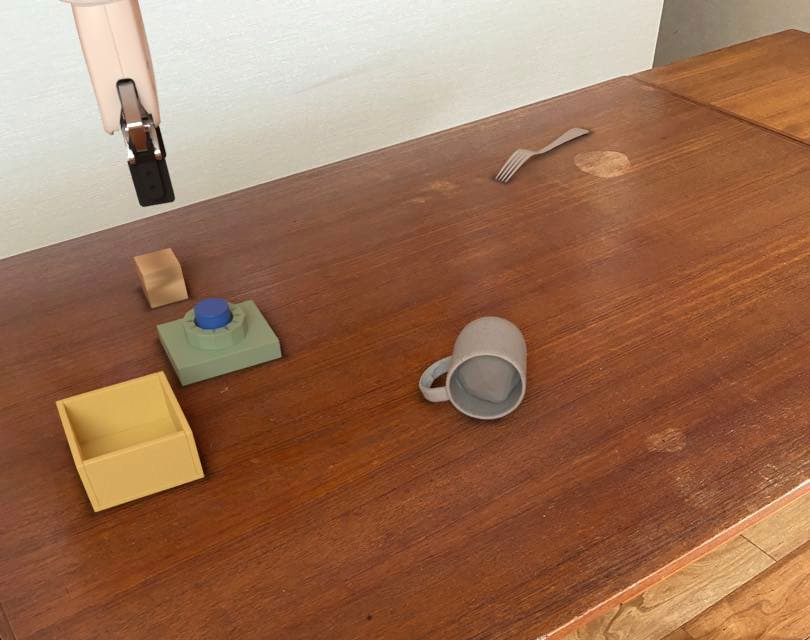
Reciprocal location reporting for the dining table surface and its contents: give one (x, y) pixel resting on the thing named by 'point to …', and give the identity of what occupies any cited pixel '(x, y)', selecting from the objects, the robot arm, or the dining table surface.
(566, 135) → the fork
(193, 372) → the green socket base
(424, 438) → the dining table surface
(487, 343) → the ceramic mug
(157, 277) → the block
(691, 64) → the dining table surface
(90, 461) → the bin
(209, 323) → the blue short cylinder
